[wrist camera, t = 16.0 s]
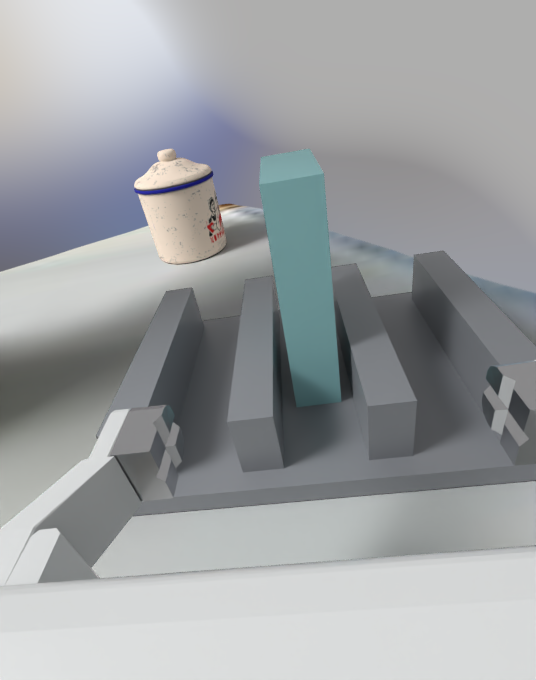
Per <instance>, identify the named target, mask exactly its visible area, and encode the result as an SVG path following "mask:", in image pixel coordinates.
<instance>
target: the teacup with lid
mask: <svg viewBox="0 0 536 680" xmlns="http://www.w3.org/2000/svg"><path fill="white" fill-rule="evenodd" d="M157 155H158V159H159V160H160V162H157V163H155V164H154V165H153V166H152V167H151V168H150V169H149V170H148V172H147V173H146V174H145V175H144V176H142V177H140V178H139V179H137V180H136V182H135V185H134V186H135V189H134V190H135V192H136V193H137V194H138V195H139V198H140V201H141V204H142V207H143V210H144V213H145V216H146V219H147V221H148V225H149V228H150V231H151V234H152V237H153V239H154V242H155V245H156V248H157V251H158V254H159V257H160V258H161V260H163V261H164V262H167V263H172V264H183V263H191V262H195V261H199V260H203V259H205V258H208V257H210V256H213V255H215V254H216V253H218V252H220V251H221V250H222V249H223V248H224V247H225V245H226V242H227V241H226V236H225V231H224V227H223V223H222V219H221V214H220V210H219V206H218V201H217V197H216V193H215V188H214V184H213V180H212V176H213V172H212V171H211V168H210V167H209V166H208V165H205V164H197V163H194V162H192V161H190V160H188V159H185V158H176V153H175V151H174V150H173V149H166V150H162V151H160V152H158V154H157Z"/></svg>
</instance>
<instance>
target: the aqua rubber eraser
mask: <svg viewBox="0 0 536 680" xmlns="http://www.w3.org/2000/svg"><path fill="white" fill-rule="evenodd" d="M324 183H325V182H324V173H323V171H322V170H321V168H320V166H319V164H318V163H317V161H316V159H315V157H314V156H313V154H312V152H311V150H310V149H304V150H299V151H293V152H288V153H282V154H277V155H271V156H265V157H261V166H260V180H259V186H260V193H261V198H262V204H263V210H264V216H265V222H266V228H267V234H268V240H269V246H270V252H271V258H272V264H273V270H274V276H275V282H276V288H277V294H278V300H279V306H280V312H281V318H282V324H283V329H284V335H285V341H286V347H287V353H288V359H289V365H290V371H291V377H292V383H293V389H294V395H295V401H296V407H304V406H312V405H321V404H329V403H337V402H341V389H340V376H339V363H338V350H337V338H336V325H335V312H334V299H333V286H332V273H331V260H330V247H329V234H328V223H327V222H328V221H327V210H326V209H327V208H326V195H325V184H324Z"/></svg>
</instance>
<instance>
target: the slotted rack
mask: <svg viewBox="0 0 536 680" xmlns="http://www.w3.org/2000/svg"><path fill="white" fill-rule="evenodd" d="M331 273H332V286H333V299H334V312H335V325H336V338H337V350H338V363H339V376H340V389H341V402H337V403H329V404H321V405H312V406H304V407H296V401H295V395H294V389H293V383H292V377H291V371H290V365H289V359H288V353H287V347H286V341H285V335H284V329H283V324H282V318H281V312H280V310H278V305H277V299H276V293H275V288H274V282H273V276H267V277H260V278H253V279H246V280H245V286H244V294H243V302H242V309H241V315H240V316H233V317H226V318H219V319H211V320H204V321H202V318H201V315H200V311H199V308H198V305H197V302H196V298H195V295H194V292H193V288H185V289H178V290H171V291H166V293H165V295H164V297H163V299H162V301H161V303H160V305H159V307H158V309H157V311H156V313H155V315H154V317H153V319H152V321H151V323H150V326H149V328H148V330H147V332H146V334H145V336H144V338H143V340H142V342H141V344H140V346H139V348H138V350H137V352H136V354H135V356H134V359H133V361H132V363H131V365H130V367H129V369H128V371H127V373H126V375H125V377H124V379H123V381H122V383H121V385H120V387H119V389H118V392H117V394H116V396H115V398H114V400H113V402H112V404H111V406H110V408H109V410H108V412H107V414H106V416H105V418H104V420H103V422H102V424H101V427H100V429H99V431H98V433H97V435H96V437H97V439H98V438H99V436H100V433H101V431H102V429H103V427H104V425H105V423H106V421H107V419H108V417H109V415H110V413H112V412H113V411H114V410H122V409H132V408H139V407H150V406H160V405H169V406H171V408H172V410H173V412H174V414H175V416H174V420H173V423H175V424H176V425H178V426H179V427H180V428H181V431H182V434H183V438H184V455H183V459H182V462H181V463H180V464H179V465H178V466H177V467H176V471H177V473H178V475H179V477H178V481H177V485H176V490H175V494H174V498H170V499H162V500H154V501H146V502H142V505H141V506H140V507H139V508H138V510H137V511H136V512H135V513H134V515H133V516H138V515H149V514H160V513H172V512H183V511H194V510H206V509H217V508H228V507H240V506H251V505H262V504H274V503H285V502H296V501H308V500H319V499H330V498H342V497H353V496H364V495H376V494H387V493H398V492H410V491H421V490H432V489H444V488H455V487H466V486H478V485H489V484H500V483H512V482H523V481H534V480H536V464H529V465H513V463H512V461H511V460H510V458H509V457H508V455H507V454H506V452H505V450H504V449H503V447H502V446H501V444H500V441H501V436H502V435H501V434H499V433H497V432H496V431H494V430H492V429H491V428H490V426H489V425H488V423H487V421H486V419H485V416H484V414H483V408H482V396H483V392H484V391H485V390H486V389H487V388H488V387H489V386H490V384H489V383H488V381H487V380H486V375H487V370H488V369H489V367H490V366H493V365H501V364H509V363H517V362H525V361H534V360H536V346H535V345H534V344H533V343H532V342H531V340H530V339H529V338H528V337H527V336H526V335H525V334H524V333H523V332H522V331H521V330H520V329H519V328H518V327H517V326H516V325H515V324H514V323H513V322H512V321H511V320H510V319H509V318H508V317H507V316H506V315H505V314H504V313H503V312H502V310H501V309H500V308H499V307H498V306H497V305H496V304H495V303H494V302H493V301H492V300H491V299H490V298H489V297H488V296H487V295H486V294H485V293H484V292H483V291H482V290H481V289H480V288H479V287H478V286H477V285H476V284H475V283H474V282H473V281H472V279H471V278H470V277H469V276H468V275H467V274H466V273H465V272H464V271H463V270H462V269H461V268H460V267H459V266H458V265H457V264H456V263H455V262H454V261H453V260H452V259H451V258H450V257H449V256H448V255H447V254H446V253H445V252H444V251H438V252H430V253H424V254H417V255H414V265H413V284H412V292H408V293H401V294H393V295H386V296H379V297H371V296H370V293H369V291H368V289H367V287H366V284H365V282H364V280H363V278H362V275H361V273H360V271H359V269H358V266H357V264H356V263H355V264H349V265H342V266H335V267H331Z"/></svg>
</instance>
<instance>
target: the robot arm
mask: <svg viewBox="0 0 536 680" xmlns="http://www.w3.org/2000/svg"><path fill="white" fill-rule="evenodd" d="M486 380H487V381H488V383H489V384H490V386H489V387H488V388H487V389H486V390H485V391H484V392H483V396H482V408H483V414H484V416H485V419H486V421H487V423H488V425H489V426H490V428H491V429H492V430H494V431H496V432H497V433H499V434H501V435H502V436H501V441H500V444H501V446H502V447H503V449H504V450H505V452H506V454H507V455H508V457H509V458H510V460H511V461H512V463H513V465H529V464H536V360H534V361H525V362H517V363H509V364H501V365H493V366H490V367H489V369H488V370H487V375H486ZM174 416H175V414H174V412H173V410H172V408H171V406H169V405H160V406H150V407H139V408H132V409H122V410H114V411H113V412H112V413H110V415H109V417H108V419H107V421H106V423H105V425H104V427H103V429H102V431H101V433H100V436H99V438H98V440H97V442H96V444H95V446H94V448H93V450H92V452H91V454H90V456H89V458H88V459H84V460H82V461H80V462H79V463H78V464H77V465H76V466H74V467H73V468H72V469H71V470H70V471H68V472H67V473H66V474H65V475H64V476H62V477H61V478H60V479H59V480H58V481H56V482H55V483H54V484H53V485H52V486H50V487H49V488H48V489H47V490H46V491H44V492H43V493H42V494H41V495H40V496H38V497H37V498H36V499H35V500H34V501H32V502H31V503H30V504H29V505H28V506H26V507H25V508H24V509H23V510H22V511H20V512H19V513H18V514H17V515H16V516H14V517H13V518H12V519H11V520H10V521H8V522H7V523H6V524H5V525H4V526H2V527H1V528H0V680H536V545H534V546H521V547H508V548H494V549H481V550H468V551H455V552H442V553H429V554H416V555H403V556H389V557H376V558H363V559H350V560H337V561H324V562H311V563H298V564H284V565H271V566H258V567H245V568H232V569H218V570H205V571H192V572H179V573H165V574H152V575H139V576H126V577H112V578H99V576H98V575H97V574H96V573H95V572H94V571H93V570H92V567H93V565H94V564H95V563H96V561H97V560H98V559H99V558H100V556H101V555H102V554H103V553H104V551H105V550H106V549H107V548H108V546H109V545H110V544H111V543H112V541H113V540H114V539H115V537H116V536H117V535H118V534H119V532H120V531H121V530H122V529H123V527H124V526H125V525H126V524H127V522H128V521H129V520H130V519H131V517H132V516H133V515H134V513H135V512H136V511H137V510H138V508H139V507H140V506H141V505H142V502H146V501H154V500H162V499H170V498H174V494H175V490H176V485H177V481H178V477H179V475H178V473H177V471H176V467H177V466H178V465H179V464H180V463H181V462H182V459H183V455H184V438H183V434H182V431H181V428H180V427H179V426H178V425H176V424H175V423H173V420H174Z"/></svg>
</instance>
